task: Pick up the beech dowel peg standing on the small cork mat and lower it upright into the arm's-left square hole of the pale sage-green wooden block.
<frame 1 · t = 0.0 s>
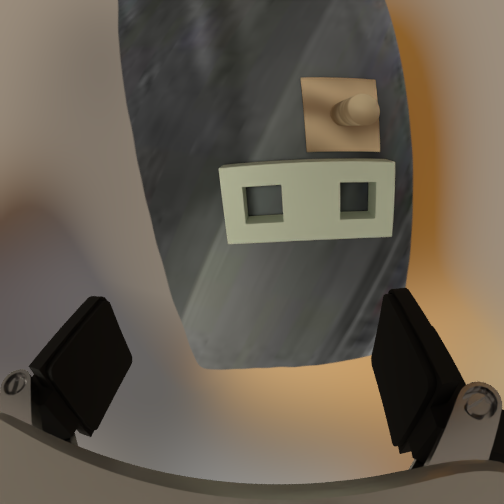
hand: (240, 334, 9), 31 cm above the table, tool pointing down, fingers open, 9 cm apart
cork mat: (341, 114, 33), on the table
peg: (342, 114, 32), resting on cork mat
hole block: (308, 195, 38), on the table
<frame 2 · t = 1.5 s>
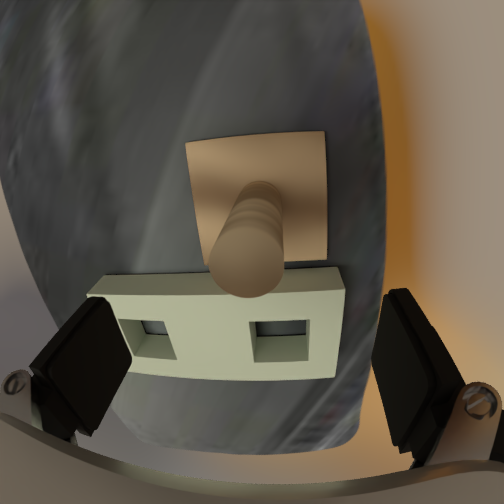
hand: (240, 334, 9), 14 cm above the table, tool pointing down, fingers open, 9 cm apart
cork mat: (260, 200, 22), on the table
peg: (259, 202, 21), resting on cork mat
hole block: (216, 318, 27), on the table
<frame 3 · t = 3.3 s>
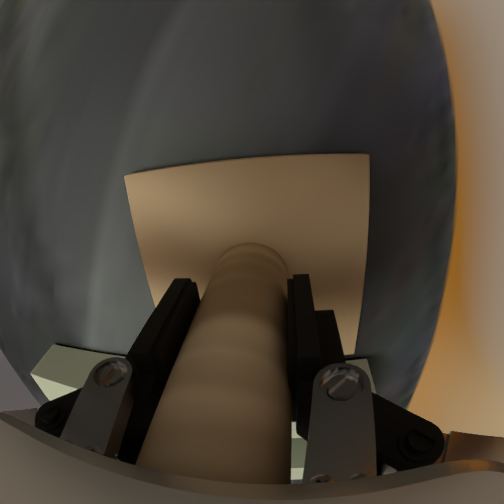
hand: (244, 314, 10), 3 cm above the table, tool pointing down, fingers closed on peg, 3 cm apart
cork mat: (252, 271, 13), on the table
peg: (251, 277, 13), resting on cork mat, touching gripper
hole block: (196, 409, 18), on the table
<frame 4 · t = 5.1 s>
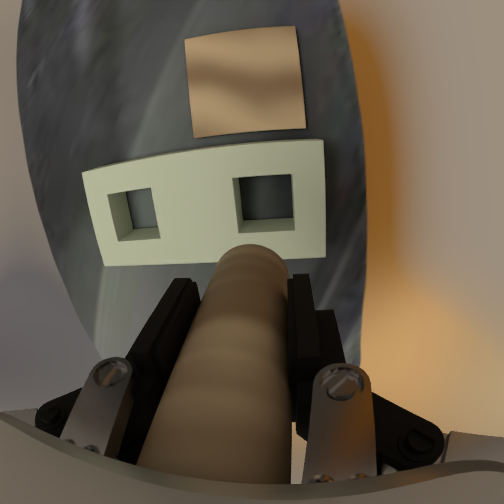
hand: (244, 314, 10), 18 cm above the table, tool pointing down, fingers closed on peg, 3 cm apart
cork mat: (244, 79, 22), on the table
peg: (251, 278, 12), point 15 cm above the table, touching gripper
hole block: (203, 199, 27), on the table
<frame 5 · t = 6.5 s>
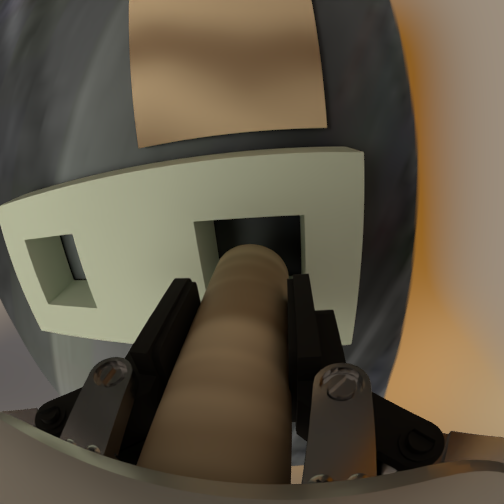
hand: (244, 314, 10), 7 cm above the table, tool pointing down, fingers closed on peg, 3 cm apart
cork mat: (220, 46, 12), on the table
peg: (251, 278, 13), point 4 cm above the table, touching gripper
hole block: (160, 245, 17), on the table
when the fingers open (4 cm above the table, at t = 7.3 s): peg drops 1 cm, resting in hole block.
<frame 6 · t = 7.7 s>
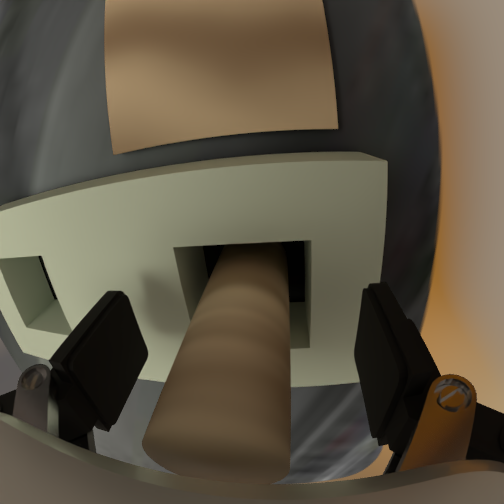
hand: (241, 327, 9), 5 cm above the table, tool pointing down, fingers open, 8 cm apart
cork mat: (208, 32, 10), on the table
peg: (253, 261, 14), resting in hole block
hole block: (142, 266, 15), on the table
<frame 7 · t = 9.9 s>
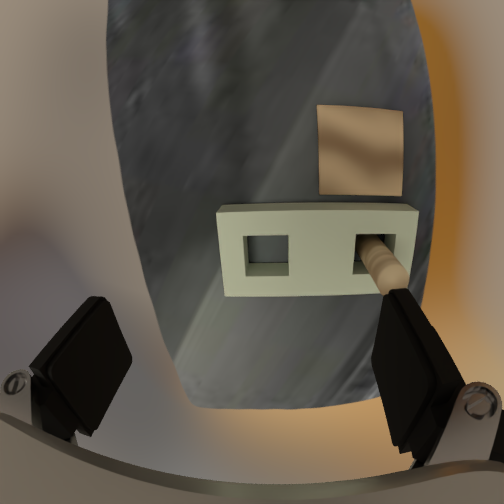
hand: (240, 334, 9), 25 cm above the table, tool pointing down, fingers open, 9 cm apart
cork mat: (361, 150, 29), on the table
peg: (366, 242, 33), resting in hole block
hole block: (318, 243, 34), on the table
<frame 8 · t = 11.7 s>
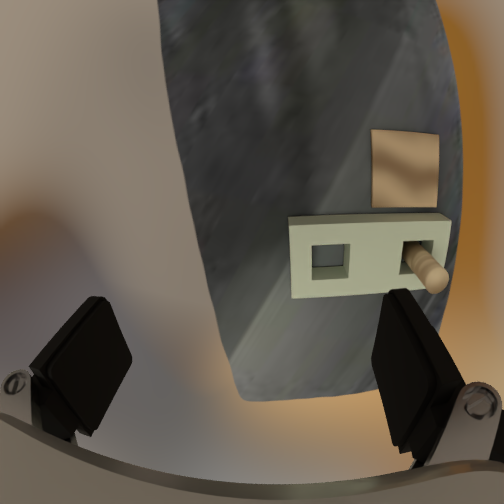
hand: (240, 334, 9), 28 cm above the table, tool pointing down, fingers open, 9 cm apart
cork mat: (406, 169, 32), on the table
peg: (407, 246, 37), resting in hole block
hole block: (368, 248, 37), on the table
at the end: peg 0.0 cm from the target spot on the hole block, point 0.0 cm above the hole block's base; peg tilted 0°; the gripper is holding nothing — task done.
